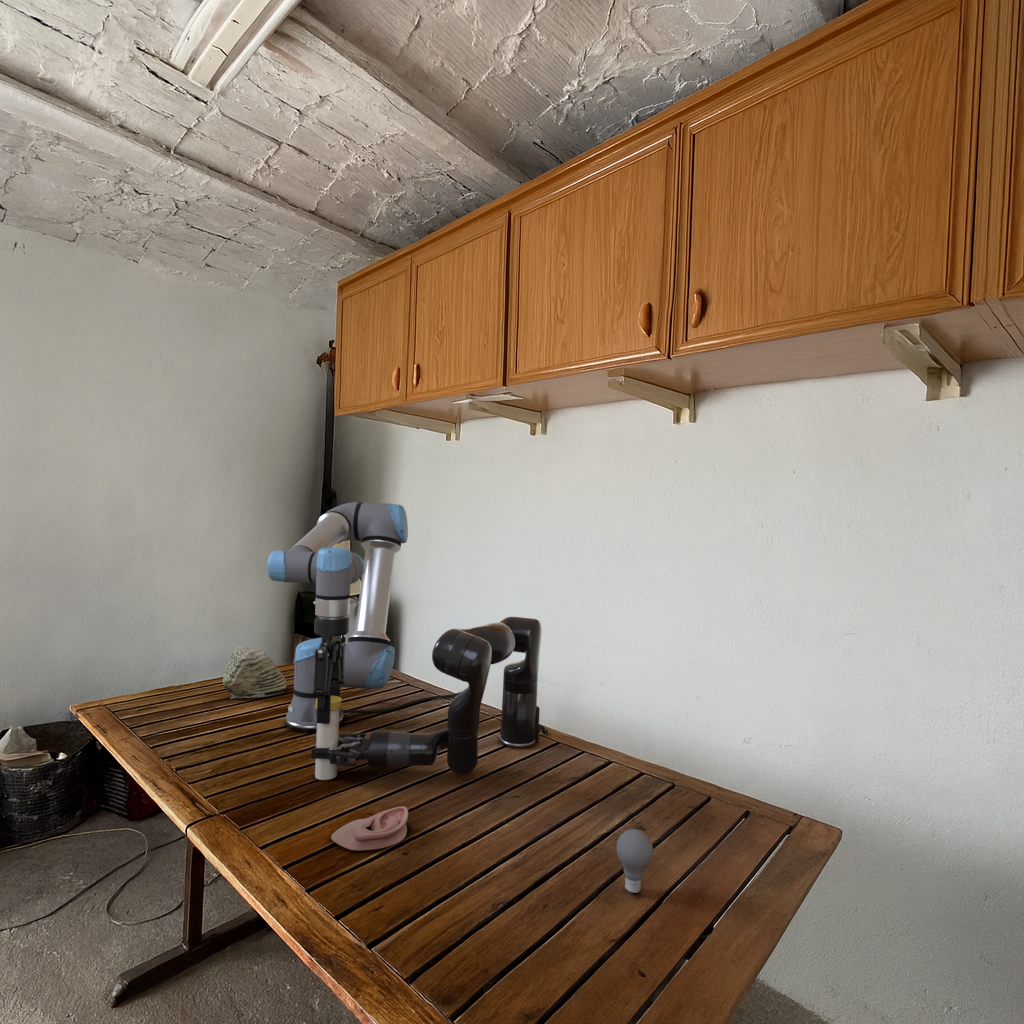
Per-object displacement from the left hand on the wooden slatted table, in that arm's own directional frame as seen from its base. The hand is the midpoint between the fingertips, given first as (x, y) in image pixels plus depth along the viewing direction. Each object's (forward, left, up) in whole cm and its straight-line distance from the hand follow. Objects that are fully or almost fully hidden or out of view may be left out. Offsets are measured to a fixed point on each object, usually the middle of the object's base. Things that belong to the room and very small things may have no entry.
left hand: (328, 717), depth 144 cm
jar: (0, 0, -13) cm, 13 cm away
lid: (0, 0, +4) cm, 4 cm away
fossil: (-18, -64, -13) cm, 68 cm away
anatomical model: (+10, +28, -13) cm, 32 cm away
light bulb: (-9, +73, -13) cm, 75 cm away
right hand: (+2, -2, -7) cm, 7 cm away
